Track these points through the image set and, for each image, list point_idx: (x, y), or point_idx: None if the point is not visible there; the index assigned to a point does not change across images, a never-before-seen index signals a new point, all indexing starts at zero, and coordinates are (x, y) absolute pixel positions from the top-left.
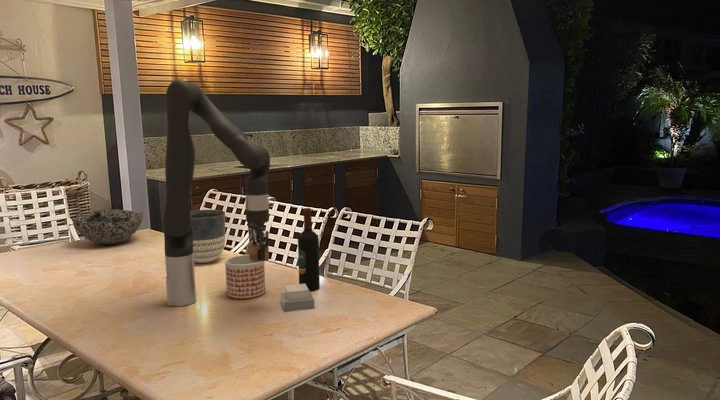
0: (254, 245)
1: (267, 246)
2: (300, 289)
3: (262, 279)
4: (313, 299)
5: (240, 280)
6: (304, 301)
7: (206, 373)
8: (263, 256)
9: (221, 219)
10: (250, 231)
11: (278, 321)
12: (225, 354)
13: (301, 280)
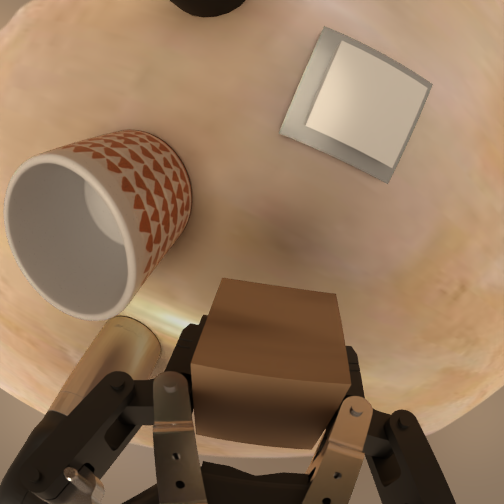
0: (252, 432)
1: (416, 421)
2: (402, 108)
3: (152, 165)
4: (430, 85)
5: (156, 265)
6: (417, 115)
7: (459, 396)
8: (353, 363)
9: None
10: (98, 473)
11: (426, 235)
12: (446, 371)
13: (209, 3)
